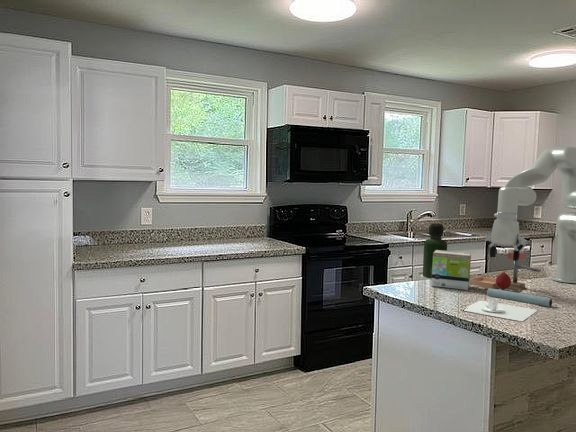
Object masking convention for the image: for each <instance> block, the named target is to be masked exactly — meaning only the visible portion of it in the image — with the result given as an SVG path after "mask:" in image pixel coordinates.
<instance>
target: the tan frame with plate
mask: <svg viewBox="0 0 576 432" xmlns="http://www.w3.org/2000/svg"><path fill="white" fill-rule="evenodd" d="M483 288H484V289H483V290H485V291H488V289H489V288H492V287H488V288H485V287H483ZM522 289H526V282H519V281H517V283H514V282H513V280H511V285H510V286H509V287H508V288H507V289H506V290H510V291H511V292H516V293H521V292H522V291H523V290H522Z"/></svg>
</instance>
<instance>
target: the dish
mask: <svg viewBox="0 0 576 432" xmlns="http://www.w3.org/2000/svg"><path fill="white" fill-rule="evenodd" d="M469 286H477V287H480V288H481V287H482V288H488V287H492V289H498V288H499V287H498V286H497V284H496V278H493V277H486V276H481V275H480V276H476V277H470V279H469ZM499 289H500V288H499Z"/></svg>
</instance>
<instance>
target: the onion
mask: <svg viewBox="0 0 576 432" xmlns="http://www.w3.org/2000/svg"><path fill="white" fill-rule="evenodd" d="M495 279H496V284H497V286H498V287H499V290H504V291H506V290H508V289H507V288H508V287H509V286H510V285H511V281H512V279H511V277H510V276H509V275H508V274H507V273H506V271H505V270H504V271H502V272H501V273H500V274H498V275H497V277H495Z"/></svg>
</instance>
